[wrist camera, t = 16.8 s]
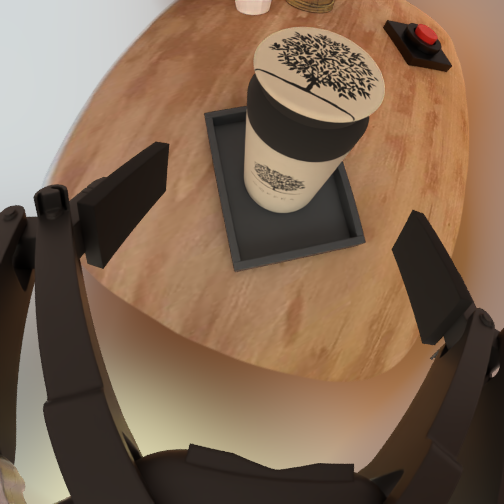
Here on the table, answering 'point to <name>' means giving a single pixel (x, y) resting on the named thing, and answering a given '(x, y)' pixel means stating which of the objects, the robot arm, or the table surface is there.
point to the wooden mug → (313, 5)
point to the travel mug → (305, 113)
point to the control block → (416, 47)
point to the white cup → (253, 6)
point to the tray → (272, 223)
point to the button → (426, 34)
